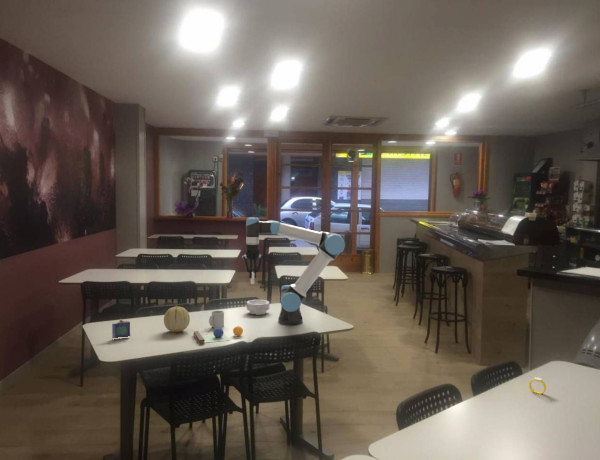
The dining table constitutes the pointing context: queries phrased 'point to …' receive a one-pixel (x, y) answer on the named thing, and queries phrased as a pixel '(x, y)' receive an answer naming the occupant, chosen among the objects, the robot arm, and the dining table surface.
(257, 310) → the paper bowls
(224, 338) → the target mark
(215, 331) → the navy ball
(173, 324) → the cantaloupe
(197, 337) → the backstop rail
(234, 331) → the orange ball
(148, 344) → the dining table surface
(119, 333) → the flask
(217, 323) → the cup
